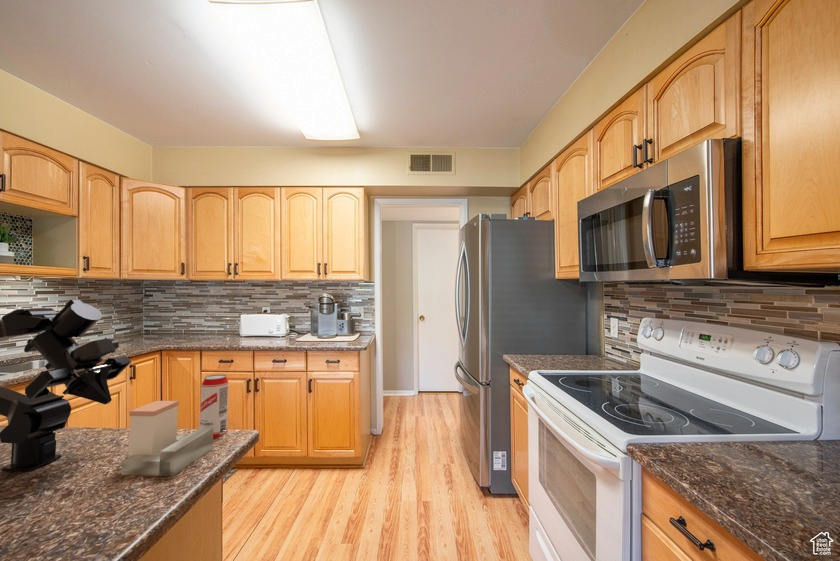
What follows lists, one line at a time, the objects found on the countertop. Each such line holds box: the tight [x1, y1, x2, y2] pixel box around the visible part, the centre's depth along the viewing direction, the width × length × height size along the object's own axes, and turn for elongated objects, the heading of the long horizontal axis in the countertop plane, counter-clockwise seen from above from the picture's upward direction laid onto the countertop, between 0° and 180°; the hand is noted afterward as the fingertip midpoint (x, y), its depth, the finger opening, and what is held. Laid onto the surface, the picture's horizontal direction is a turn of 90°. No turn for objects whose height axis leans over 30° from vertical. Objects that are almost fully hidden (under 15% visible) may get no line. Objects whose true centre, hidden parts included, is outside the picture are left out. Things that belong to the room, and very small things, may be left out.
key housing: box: [120, 427, 214, 477], centre depth 75 cm, size 16×18×6 cm
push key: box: [127, 400, 180, 458], centre depth 75 cm, size 5×7×12 cm
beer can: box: [199, 373, 230, 438], centre depth 90 cm, size 6×6×16 cm
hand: (108, 402), depth 76 cm, fingers closed
